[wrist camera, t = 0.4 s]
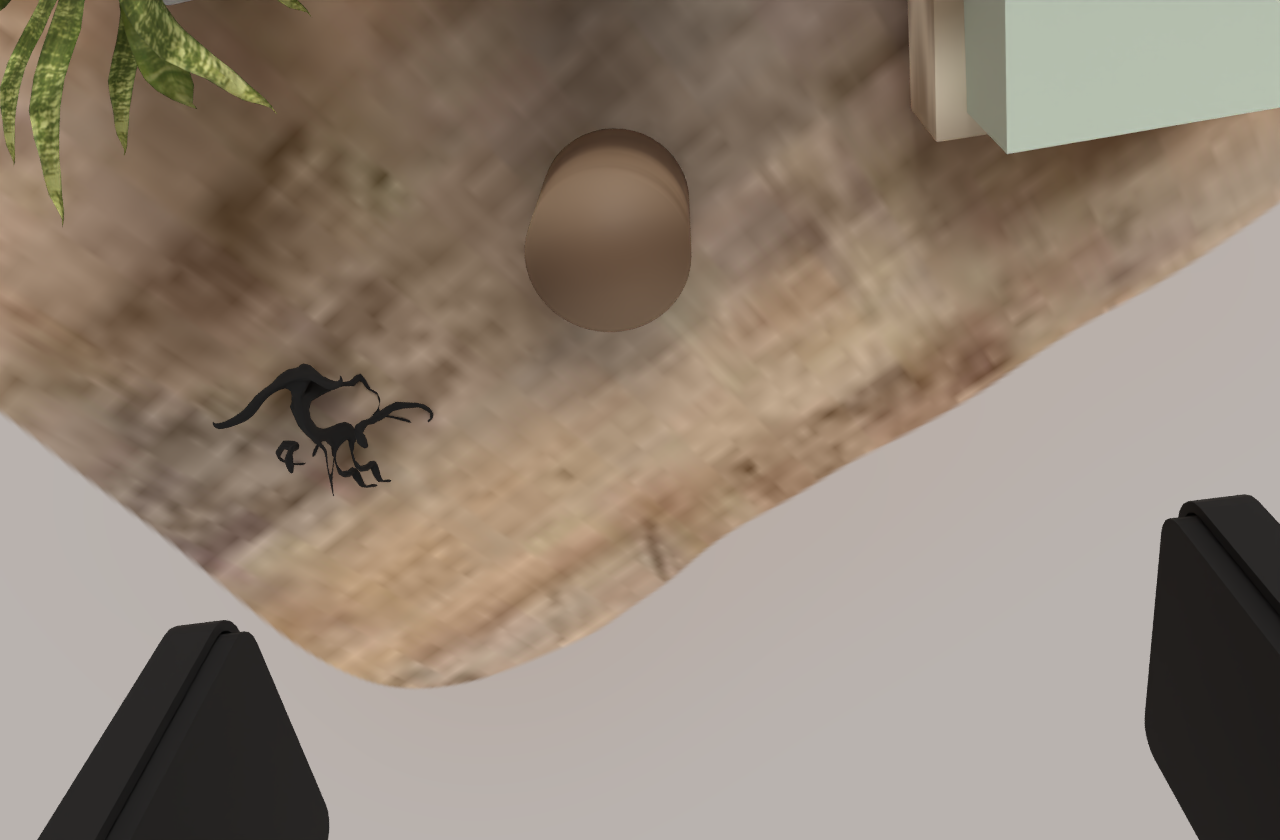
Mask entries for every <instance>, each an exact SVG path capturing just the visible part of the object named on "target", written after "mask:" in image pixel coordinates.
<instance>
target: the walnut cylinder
mask: <svg viewBox="0 0 1280 840" xmlns="http://www.w3.org/2000/svg"><path fill="white" fill-rule="evenodd" d="M525 262H526V268H527V271H528V275H529V278H530V280H531V282H532V285H533V287H534V288H535V290H536V292H537V293H538V295H539V296H540V298H541V299H542V300H543V301H544V303H545V304H546V305H547V306H548V307H549V308H550V309H551V310H552V311H554V312H555V313H556V314H558V315H559V316H560V317H562V318H563V319H565V320H567V321H569V322H570V323H573V324H575V325H577V326H580V327H583V328H586V329H590V330H595V331H603V332H617V331H625V330H630V329H634V328H637V327H640V326H643V325H645V324H647V323H649V322H651V321H653V320H654V319H656V318H658V317H659V316H661V315H662V314H663V313H664V312H665V311H667V310H668V309H669V308H670V307H671V306H672V304H673V303H674V302H675V301H676V300H677V298H678V297H679V295H680V294H681V292H682V290H683V288H684V286H685V284H686V281H687V278H688V276H689V271H690V266H691V234H690V210H689V192H688V187H687V182H686V179H685V177H684V174H683V172H682V170H681V168H680V166H679V164H678V163H677V161H676V160H675V158H674V157H673V156H672V155H671V154H670V153H669V151H668V150H667V149H665V148H664V147H663V146H662V145H661V144H660V143H658V142H656V141H655V140H653V139H652V138H650V137H648V136H646V135H644V134H641V133H638V132H635V131H631V130H626V129H602V130H598V131H593V132H591V133H588V134H585V135H583V136H581V137H579V138H577V139H575V140H574V141H572V142H571V143H570V144H568V145H567V146H566V147H565V148H564V149H563V150H562V151H561V152H560V153H559V154H558V155H557V157H556V158H555V159H554V161H553V163H552V164H551V166H550V168H549V170H548V172H547V175H546V178H545V180H544V183H543V186H542V189H541V192H540V195H539V198H538V201H537V204H536V207H535V210H534V213H533V216H532V219H531V222H530V225H529V228H528V231H527V235H526V241H525Z"/></svg>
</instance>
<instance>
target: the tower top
mask: <svg viewBox="0 0 1280 840" xmlns="http://www.w3.org/2000/svg"><path fill="white" fill-rule="evenodd" d="M964 27H965V59H966V91H967V113H968V114H969V115H970V116H971V117H972V118H973V119H974V120H975V121H976V122H977V123H978V124H979V125H980V126H981V128H982V129H983V130H984V131H985V132H986V133H987V134H988V135H989V136H990V137H991V138H992V139H993V140H994V141H995V142H996V143H997V144H998V145H999V146H1000V147H1001V148H1002V149H1003V150H1004V152H1005V153H1006V154H1011V153H1017V152H1023V151H1028V150H1034V149H1040V148H1046V147H1052V146H1058V145H1064V144H1069V143H1075V142H1081V141H1087V140H1093V139H1099V138H1104V137H1110V136H1116V135H1122V134H1128V133H1134V132H1140V131H1145V130H1151V129H1157V128H1163V127H1169V126H1175V125H1181V124H1186V123H1192V122H1198V121H1204V120H1210V119H1216V118H1221V117H1227V116H1233V115H1239V114H1245V113H1251V112H1257V111H1262V110H1268V109H1274V108H1280V0H964Z"/></svg>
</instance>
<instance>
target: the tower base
mask: <svg viewBox="0 0 1280 840" xmlns="http://www.w3.org/2000/svg"><path fill="white" fill-rule="evenodd" d="M908 29H909V60H910V92H911V110H912V111H913V112H914V114H915V115H916V116H917V118H918V119H919V120H920V121H921V123H922V124H923V125H924V127H925V128H926V129H927V130H928V132H929V133H930V134H931V136H932V137H933V138H934V139H935V141H936V142H940V141H947V140H954V139H960V138H967V137H974V136H981V135H987V133H986V132H985V131H984V130H983V129H982V128H981V126H980V125H979V124H978V123H977V122H976V121H975V120H974V119H973V118H972V117H971V116H970V115H969V114H968V113H967V91H966V59H965V27H964V0H908Z"/></svg>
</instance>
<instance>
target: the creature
mask: <svg viewBox="0 0 1280 840" xmlns="http://www.w3.org/2000/svg"><path fill="white" fill-rule="evenodd" d="M359 381H361V382H363V384H364V385H365V387H366V388H367V389H369V390H370V391H372V392H374V393H375V394H377V395H378V393H377V392H375V391H374V390H372V389H370V387H369V385H368V383H367V382H366V380H365V379H364V377H363V376H362V375H361V374H358V375H356V376H355V377H354V378H353V379H352V380H350V381H347V382H343V380H342V377H341V376H340V380H339V381H333V380H330V379H328V378H326V377H323V376H322V375H321V374H320V373H318V372H317V371H316V370H315V369H314V368H313V367H312V366H310V365H308V364H301V365H300V366H299V367H297V368H293V369H289V370H287V371H285V372H283V373H282V374H280V375H279V376H278V377H277V378H276V379H275V380H274V382H273V383H272V384H270V385H269V386H268V387H266V388H265V389H264V390H262V391H261V392H260V393H258V394H257V395H256V396H255V397H254V398H253V400H252V401H251V402H250V403H249V404H248V406H247V407H246V408H245V409H244V410H243V411H242V412H241V413H239V414H238V415H236V416H235V417H233V418H231V419H229V420H227V421H225V422H222V423H216V424H215V423H214V422H213V425H214V427H215V428H218V429H224V428H229V427H232V426H235V425H238V424H240V423H242V422H245V421H247V420H248V419H249V418H251V417H252V416H253V415H254V414H255V413H256V412H257V410H258V409H259V407H260V406H261V405H262V403H263V402H264V401H265V400H266V399H267V398H268V397H269V396H270V395H272V394H273V393H274V392H276V391H278V390H281V389H284V388H286V389H288V390H290V391H291V394H292V399H291V400H292V403H291V406H290V408H291V410H292V413H293V415H294V417H295V420H296V422H297V424H298V426H299V427H300V428H301V430H302V431H303V432H304V433H305V434H306V435H307V436H308V437H309V438H310V439H311V440H312V441H313V442H314V443H315V444H317V445H316V447H315V449H314V451H313V457H314V456H315V455H316V452H317V449H318V447H320V448H322V449H323V451H324V453H325V457H326V463H327V469H328V461H327V451H326V449H325V447H324V446H323V445H322V443H321V442H322V441H326V442H327V443H328V444H329V445H330V446H331V449H332V456H333V457H334V460H335V464H336V468H337V470H338V473H339V475H341V476H343V477H350V476H351V475H352V476H353V478H354V479H355V481H356V482H357V483H358V484H359V486H361V487H365V488H367V487H376V486H378V485H376V484H371V485H367V486H366V485H365V484H364V482H363V479H362V477H361V475H360V473H359V471H368V470H369V469H370V468H371V471H372V473H373V475H374V477H375V478H376V480H377V481H378V482H390V481H391V480H383V479H382V478H381V475H380V471H379V468H378V465H377V463H376V462H375V461H370V462H369V463H367V464H366V465H362V466H360V465H359V464H358V463H357V462H356V461H355V458H354V454H353V450H354V443H355V442H356V440H357V443H358V444H359V445H360V446H361V447H363V448H368V443H367V439H366V437H365V435H364V434H363V432H364V430H365V428H366V427H367V425H370V424H374V423H376V422H378V421H380V420H382V419H383V418H385V417H390V418H395V419H399V420H402V421H406V422H409V423H411V422H410V421H409V420H407V419H404V418H399V417H394V416H389V414H390V413H391V412H392V411H396V410H399V409H404V408H416V407H419V408H422V409H424V410H426V411H427V412H429V413H430V419H429V420H428V422H429V421H430V420H431V419H432V418H433V412H432V410H431V409H430V408H429V407H427V406H426V405H423V404H419V403H408V402H395V403H393V404H391V405H389V406H387V407H385V408H384V409H382V410H381V411H380V410H379V407H378V409H377V411H376V412H375V413H374V414H373V416H372V417H370V418H369V419H366V420H363V421H361V422H360V423H359V424H357V425H356V426H355V429H354V427H353V426H352V425H351V424H349V423H347V422H342V423H338V424H336V425H334V426H332V427H329V428H325V429H321V428H318V427H316V425H315V424H314V422H313V421H312V420H311V417H310V412H309V408H310V404H311V401H312V400H314V399H316V398H318V397H319V396H321V395H323V394H325V393H327V392H329V391H331V390H335V389H337V388H339V387H342V386H355V385H356V384H357V383H358V382H359ZM378 399H379V403H380V398H379V396H378ZM379 405H380V404H379ZM346 440H348V441H349V447H350V450H351V455H352V459H353V462H354V465H355V467H356V468H357V469H358V470H359V471H358V470H357V469H356V468H353V467H352V468H350V469H349V470H348V471H342V470H341V469H340V468H339V467H338V465H337V462H336V452H337V450H338V448H339V447H340V446H341V444H342V443H343V442H344V441H346ZM284 449H286V450H288V452H287V454H286V457H285V460H283V459H282V458H281V457H280V456H281V454H282V452H283V450H284ZM297 449H299V444H298V442H295V441H283V442H282V443H281V445H280V446H279V447H278V449H277V450H276V455H277V457H278V459H279V460H280V461H282V462H284V463H285V464H286V467H287V469H288V471H289V472H290V473H293V469H294V465H304V464H305V463H293V452H294V451H296V450H297ZM334 460H333V467H334ZM328 474H329V479H330V483H331V488H332V493H333V483H332V478H333V468H332V473H331V475H330V473H329V469H328ZM333 496H334V494H333Z"/></svg>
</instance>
